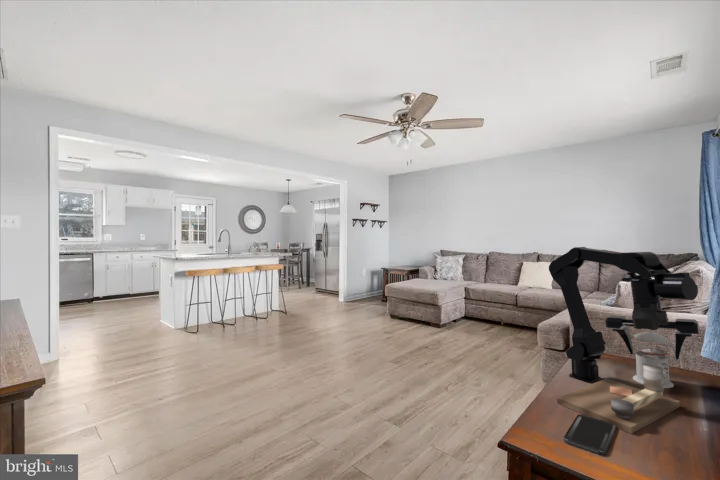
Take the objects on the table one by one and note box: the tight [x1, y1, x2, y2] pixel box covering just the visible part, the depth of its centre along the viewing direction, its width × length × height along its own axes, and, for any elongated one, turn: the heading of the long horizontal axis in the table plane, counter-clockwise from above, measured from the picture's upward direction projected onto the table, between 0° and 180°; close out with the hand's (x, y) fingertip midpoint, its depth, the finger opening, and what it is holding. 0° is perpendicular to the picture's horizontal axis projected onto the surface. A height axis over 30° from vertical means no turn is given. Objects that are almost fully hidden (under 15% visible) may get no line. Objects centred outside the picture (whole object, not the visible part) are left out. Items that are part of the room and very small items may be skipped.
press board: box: [556, 378, 681, 435], centre depth 91 cm, size 18×25×2 cm
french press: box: [632, 329, 680, 389], centre depth 105 cm, size 10×12×25 cm
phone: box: [563, 413, 617, 457], centre depth 78 cm, size 8×1×15 cm
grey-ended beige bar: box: [611, 364, 665, 416], centre depth 86 cm, size 20×4×8 cm, turn 117°
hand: (653, 356), depth 89 cm, fingers open, 9 cm apart
